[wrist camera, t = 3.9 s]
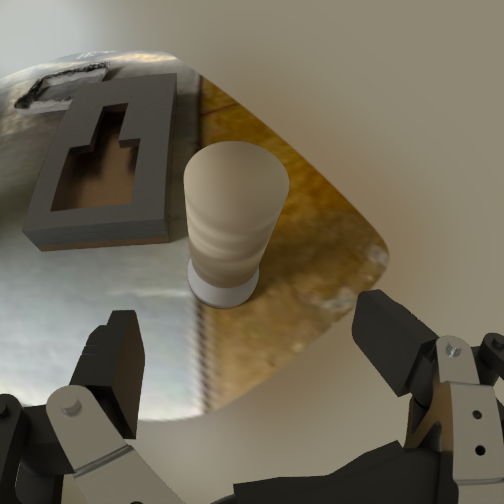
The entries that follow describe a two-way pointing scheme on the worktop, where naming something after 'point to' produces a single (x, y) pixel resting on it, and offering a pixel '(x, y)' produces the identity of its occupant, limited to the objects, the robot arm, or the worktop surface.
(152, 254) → the worktop surface
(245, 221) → the keyhole peg
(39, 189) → the keyhole board
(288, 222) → the worktop surface
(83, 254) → the worktop surface
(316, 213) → the worktop surface
